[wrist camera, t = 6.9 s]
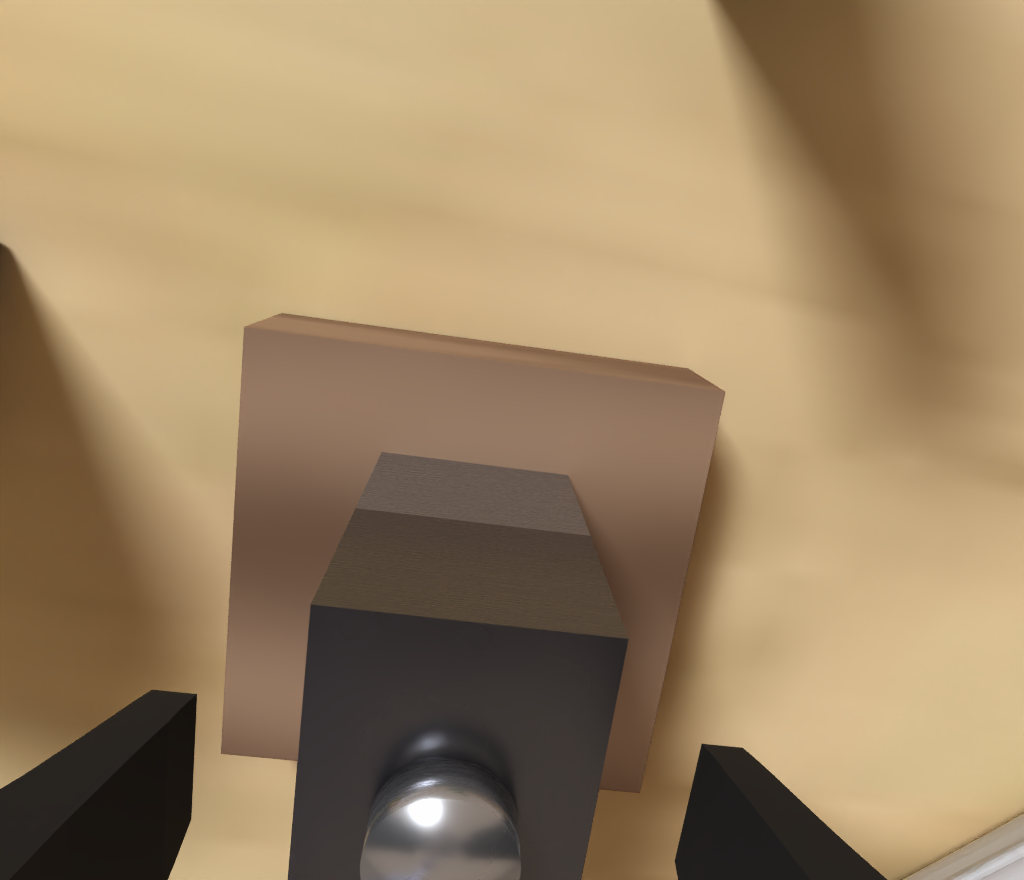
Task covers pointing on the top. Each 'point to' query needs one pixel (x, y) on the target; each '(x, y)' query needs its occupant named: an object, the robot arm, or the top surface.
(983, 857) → the salad plate
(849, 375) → the top surface
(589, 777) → the block
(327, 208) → the top surface
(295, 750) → the stand
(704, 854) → the robot arm
